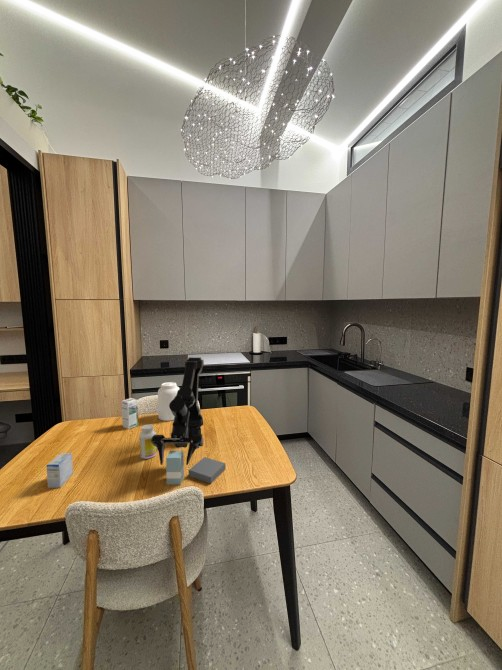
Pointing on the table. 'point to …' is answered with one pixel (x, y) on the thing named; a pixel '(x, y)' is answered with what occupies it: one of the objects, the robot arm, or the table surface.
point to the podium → (207, 470)
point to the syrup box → (129, 413)
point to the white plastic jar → (166, 400)
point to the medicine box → (59, 470)
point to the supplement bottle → (147, 442)
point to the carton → (175, 467)
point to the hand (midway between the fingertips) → (174, 464)
